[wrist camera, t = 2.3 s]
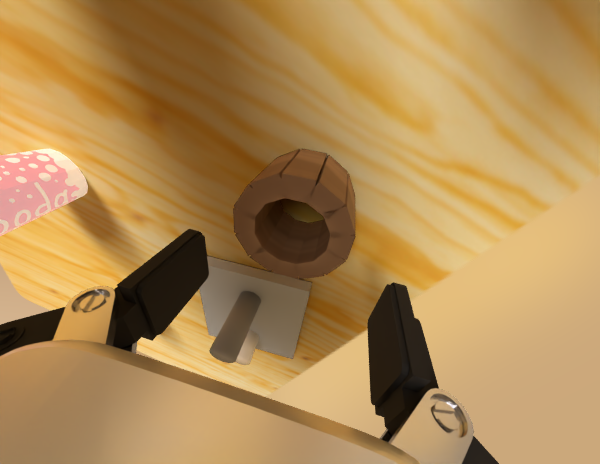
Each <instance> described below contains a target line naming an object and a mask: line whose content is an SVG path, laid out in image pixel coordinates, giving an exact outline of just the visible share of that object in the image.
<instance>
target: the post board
mask: <svg viewBox="0 0 600 464" xmlns="http://www.w3.org/2000/svg"><path fill="white" fill-rule="evenodd" d="M207 260H208V268H209V276H208V278H207V280H206V281H205V282H204V283H203V284H202V286H201V287H200V288H199V289H200V294H201V299H202V304H203V309H204V313H205V318H206V323H207V328H208V332H209V335H211V336H215V337H216V339H215V341H214V343H213V345H212V346H211V348H210V353H211V355H212V356H214V357H215V358H216V359H218V360H220V361H223V362H227V363H233V362H237V363H239V364H242V365H248V364H250V361H251V359H252V356H253V353H254V351H255V348H256V349H260V350H263V351H267V352H270V353H273V354H277V355H280V356H284V357H287V358H291V359H293V357H294V353H295V349H296V345H297V341H298V337H299V333H300V329H301V325H302V321H303V318H304V314H305V310H306V306H307V302H308V298H309V294H310V290H311V285H312V282H308V281H304V280H300V279H296V278H292V277H288V276H284V275H280V274H276V273H273V272H269V271H265V270H261V269H257V268H253V267H249V266H245V265H241V264H237V263H233V262H229V261H226V260H222V259H218V258H214V257H210V256H207Z"/></svg>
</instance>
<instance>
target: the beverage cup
mask: <svg viewBox="0 0 600 464" xmlns="http://www.w3.org/2000/svg"><path fill="white" fill-rule="evenodd" d="M87 190H88V185H87V182H86V179H85V177H84V175H83V174H82V172H81V171H80V169H79V168H78V167H77V166H76V165H75V164H74V163H73V162H72V161H71V160H70V159H69V158H67V157H66V156H64V155H63V154H61V153H60V152H58V151H55V150H52V149H41V150H34V151H27V152H21V153H14V154H7V155H0V236H1V235H4V234H6V233H8V232H10V231H12V230H14V229H16V228H18V227H20V226H22V225H24V224H26V223H28V222H30V221H33V220H35V219H37V218H39V217H41V216H43V215H45V214H47V213H49V212H51V211H53V210H55V209H57V208H59V207H61V206H64V205H66V204H68V203H70V202H72V201H74V200H76V199H78V198H80V197H82V196H84V195H85V194H86V193H87Z"/></svg>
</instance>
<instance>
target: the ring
mask: <svg viewBox="0 0 600 464" xmlns="http://www.w3.org/2000/svg"><path fill="white" fill-rule="evenodd" d="M326 155H327V154H326V153H321V152H316V151H311V150H306V149H302V150H301V151H300V149H298V150H296V151H293V152H290V153H288V154H285V155H282V156H280V157H278V158H276V159H275V160H274V161H273V162H272V163H271V164H270V165H269V166H268V167H267V168H266V169H264V170H263V171H262V172H261V173H260V174H259V175H258V176H257V177H256V178H255V179H254V180H253V181H252V182H251V183H250V184H248V186H247V187H246V189H245V190H244V192H243V193H242V195H241V196H240V198H239V199H238V201H237V202H236V204H235V205H234V208H233V214H234V232H235V233H236V234H235V235H236V237H237V238H238V240H239V241H240V243H241V245H242V246H243V248H244V249H245V251H246V253H247V254H248V255H251V256H250V258H252V259H253V260H255V261H256V262H258V263H259V264H260V265H262V266H263V267H265V268H266V269H268V270H269V271H270V272H271V271H272V270H273V273H276V274H280V275H284V276H288V277H292V278H296V279H298V277H299V278H300V279H304V278H312V277H319V276H324V274H326V275H327V274H328V273H330V272H331V271H333V270H334V269H336V268H337V267H338V266H340V265H341V264H343V263H344V262H345V261H346V259H347V258H348V255H349V253H350V250H351V247H352V244H353V242H354V239H355V194H354V190H353V187H352V183H351V180H350V176H349V174H347V171H346V170H345V169H344V168H343V167H342V166H341V165H340V164H339V163H338V162H336V161H335V160H334V159H333V158H332V157H331V156H330V155H329V156H328V157H327V158H326ZM284 198H286V199H291V200H295V201H300V202H304V203H307V204H309V205H310V206H311V207H312V208H313V209H315V210H316V211H317V212H318V213H320V214H321V215H322V216H323V217H324V219H323V220H321V221H317V222H313V223H306V222H302V221H297V220H295V219H293V218H292V217H291V216H290V215H288V214H287V213H286V212H285V211H284V210H283V208H282V205H281V203H280V201H279V200H280V199H284Z"/></svg>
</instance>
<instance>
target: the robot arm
mask: <svg viewBox="0 0 600 464" xmlns="http://www.w3.org/2000/svg"><path fill="white" fill-rule="evenodd" d="M208 276H209V268H208V260H207V252H206V244H205V237H204V236H203V235H202V233H201V232H199V231H195V230H191V229H188V230H187V231H185V232H184V233H183V234H182V235H180V236H179V237H178V238H176V239H175V240H174V241H173V242H171V243H170V244H169V245H168V246H166V247H165V248H164V249H162V250H161V251H160V252H159V253H157V254H156V255H155V256H153V257H152V258H151V259H150V260H148V261H147V262H146V263H144V264H143V265H142V266H141V267H139V268H138V269H137V270H136V271H134V272H133V273H132V274H130V275H129V276H128V277H127V278H125V279H124V280H123V281H121V282H120V283H119V284H118V285H117V286H118V287H117V288H115V289H114V290H113V288H110V287H108V286H98V287H93V288H90V289H87V290H85V291H82V292H80V293H79V294H77V295H76V296H74V297H73V298H72V299H71V300H70V301H69V302H68V304H67V305H66V307H63V308H59V309H56V310H52V311H48V312H44V313H41V314H37V315H33V316H30V317H26V318H22V319H18V320H15V321H11V322H7V323H4V324H1V325H0V464H499V463H498V462H497V461H496V460H495V459H494V458H493V457H492V456H491V454H490V453H489V452H488V451H487V450H486V449H485V448H484V447H483V446H482V444H480V442H479V441H478V440H477V439H476V438H475V437H474V436H473V433H474V431H473V425H472V422H471V419H470V417H469V415H468V413H467V411H466V410H465V408H464V407H463V406H462V404H461V403H460V402H459V401H458V400H457V399H456V398H455V397H454V396H452V395H451V394H450V393H448V392H446V391H444V390H442V389H439V387H438V384H437V380H436V377H435V373H434V369H433V366H432V362H431V359H430V355H429V351H428V348H427V344H426V341H425V337H424V334H423V330H422V327H421V324H420V321H419V320H418V319H416V318H414V314H413V310H412V306H411V302H410V298H409V294H408V290H407V287H406V286H404V285H401V284H397V283H391V285H387V286H386V287H385V289H384V291H383V293H382V295H381V297H380V298H379V300H378V302H377V304H376V306H375V308H374V310H373V311H372V313H371V315H370V317H369V319H368V347H369V370H370V391H371V403H372V404H373V405H375V411H376V415H379V416H382V417H384V420H385V427H386V428H387V429H386V431H385V432H384V433H383V435H382V436H381V438H380V439H379V438H376V437H374V436H372V435H369V434H367V433H364V432H362V431H359V430H357V429H354V428H351V427H348V426H346V425H343V424H340V423H337V422H335V421H332V420H329V419H327V418H323V417H321V416H318V415H315V414H312V413H309V412H306V411H304V410H301V409H298V408H295V407H292V406H289V405H286V404H283V403H280V402H278V401H275V400H272V399H269V398H266V397H263V396H260V395H257V394H254V393H252V392H249V391H246V390H243V389H240V388H237V387H234V386H231V385H228V384H225V383H222V382H219V381H216V380H213V379H210V378H208V377H205V376H202V375H199V374H196V373H193V372H190V371H187V370H184V369H181V368H178V367H175V366H172V365H169V364H166V363H163V362H160V361H157V360H154V359H151V358H148V357H145V356H142V355H139V354H136V348H137V341H138V340H139V339H140V338H141V337H143V338H146V339H149V340H152V341H153V339H154V338H155V337H156V336H157V335H159V334H161V333H163V331H164V330H165V329H166V328H167V327H168V325H169V324H170V323H171V322H172V321H173V319H174V318H175V317H176V316H177V315H178V313H179V312H180V311H181V310H182V309H183V307H184V306H185V305H186V304H187V303H188V301H189V300H190V299H191V298H192V296H193V295H194V294H195V293H196V292H197V290H198V289H199V288H200V287H201V286H202V284H203V283H204V282H205V281H206V280H207V278H208Z"/></svg>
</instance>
